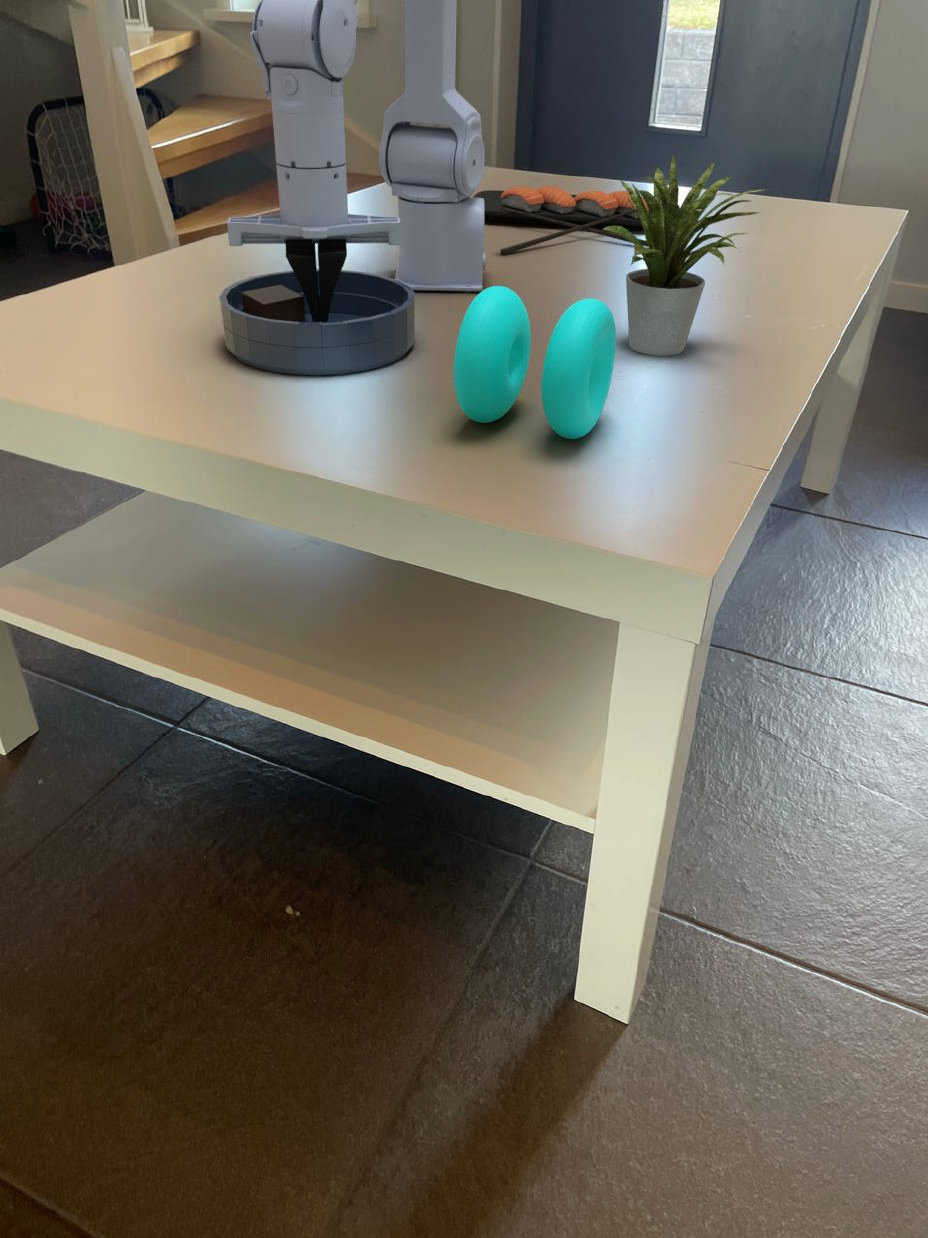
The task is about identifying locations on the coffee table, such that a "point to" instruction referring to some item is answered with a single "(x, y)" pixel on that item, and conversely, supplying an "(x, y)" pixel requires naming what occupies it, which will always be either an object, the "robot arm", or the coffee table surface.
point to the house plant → (670, 260)
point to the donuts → (501, 355)
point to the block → (274, 304)
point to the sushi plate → (562, 211)
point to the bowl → (324, 326)
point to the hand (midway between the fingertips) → (320, 327)
